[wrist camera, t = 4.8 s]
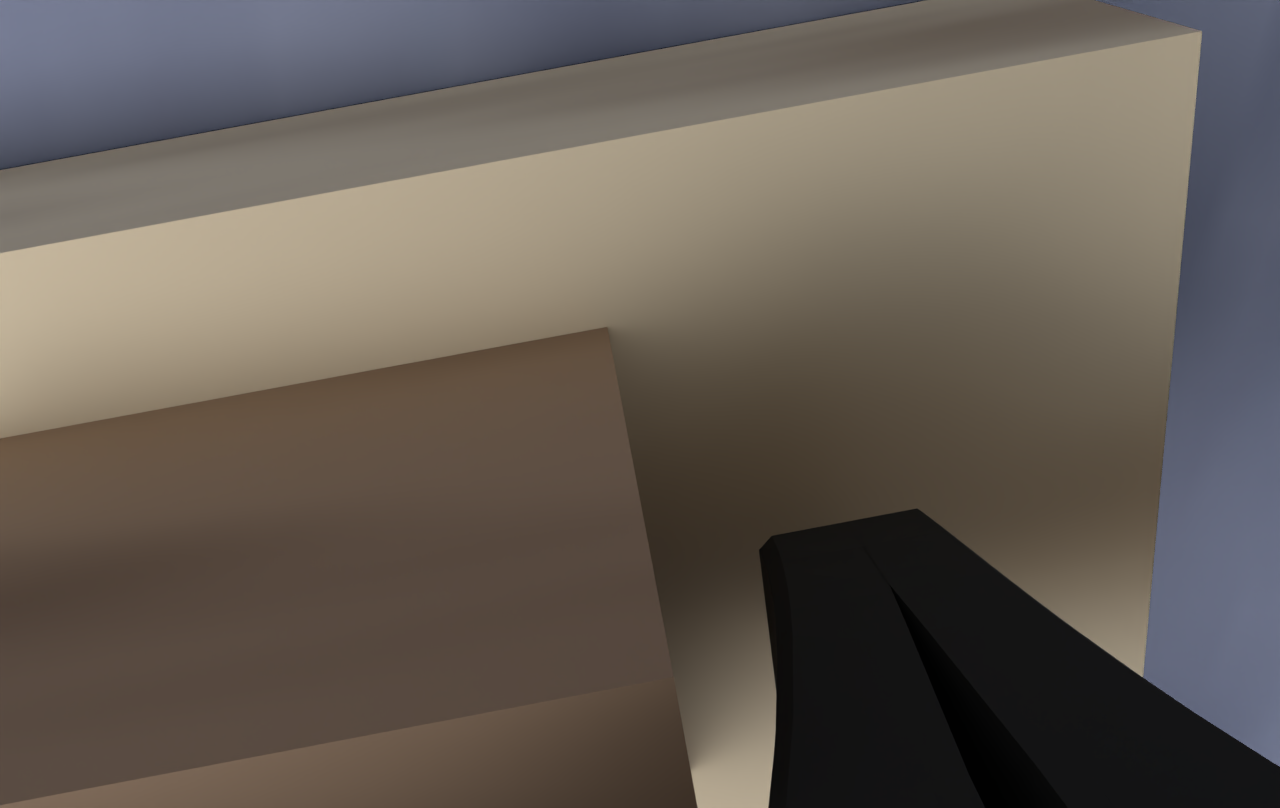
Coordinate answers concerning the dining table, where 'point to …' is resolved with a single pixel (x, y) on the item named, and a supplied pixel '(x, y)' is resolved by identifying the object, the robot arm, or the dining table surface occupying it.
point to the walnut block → (341, 598)
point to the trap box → (700, 292)
